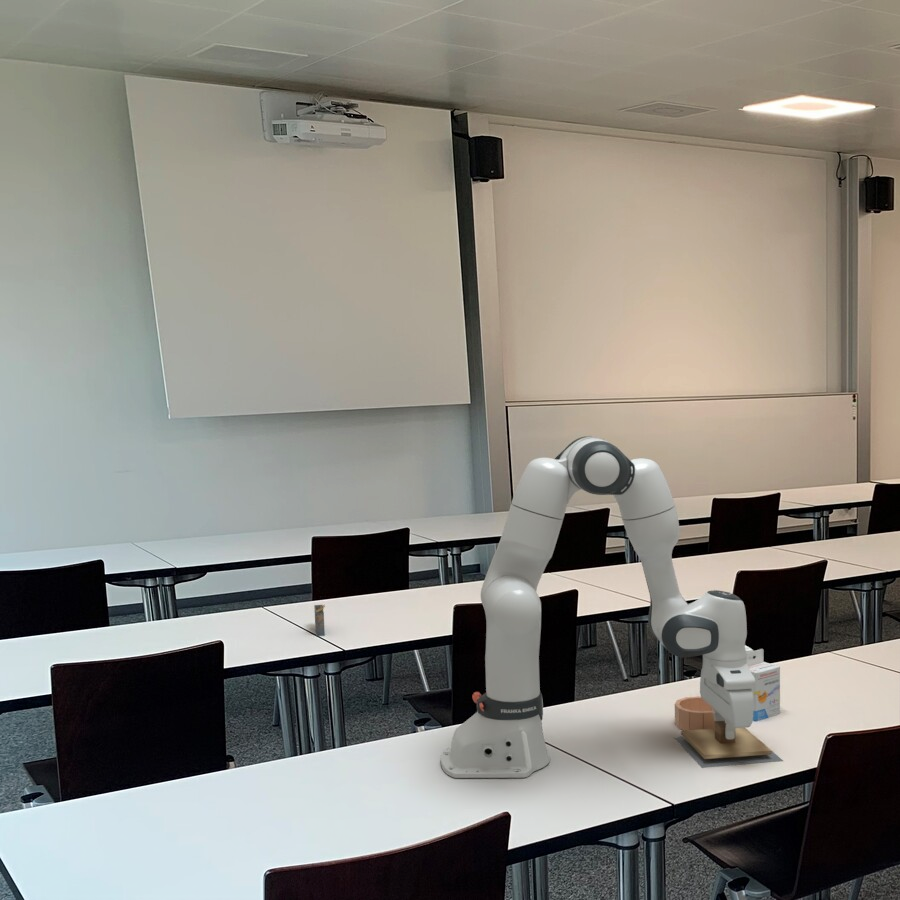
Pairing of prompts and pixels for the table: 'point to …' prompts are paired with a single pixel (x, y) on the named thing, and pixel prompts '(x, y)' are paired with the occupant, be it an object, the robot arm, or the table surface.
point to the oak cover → (725, 742)
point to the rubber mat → (728, 760)
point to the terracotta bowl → (693, 714)
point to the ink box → (764, 686)
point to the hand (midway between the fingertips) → (724, 734)
